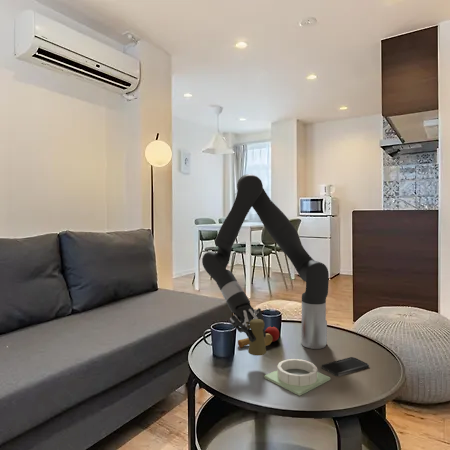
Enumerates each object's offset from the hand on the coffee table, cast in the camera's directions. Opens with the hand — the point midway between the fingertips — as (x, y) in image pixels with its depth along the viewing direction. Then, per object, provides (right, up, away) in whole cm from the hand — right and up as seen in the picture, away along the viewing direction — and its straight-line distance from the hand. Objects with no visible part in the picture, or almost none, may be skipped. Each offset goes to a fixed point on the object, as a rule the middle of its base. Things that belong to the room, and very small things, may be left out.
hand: (259, 339), depth 119 cm
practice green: (+11, -10, -7) cm, 17 cm away
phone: (+29, -10, +1) cm, 31 cm away
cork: (-1, -5, +1) cm, 5 cm away
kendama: (+2, -9, +22) cm, 24 cm away
